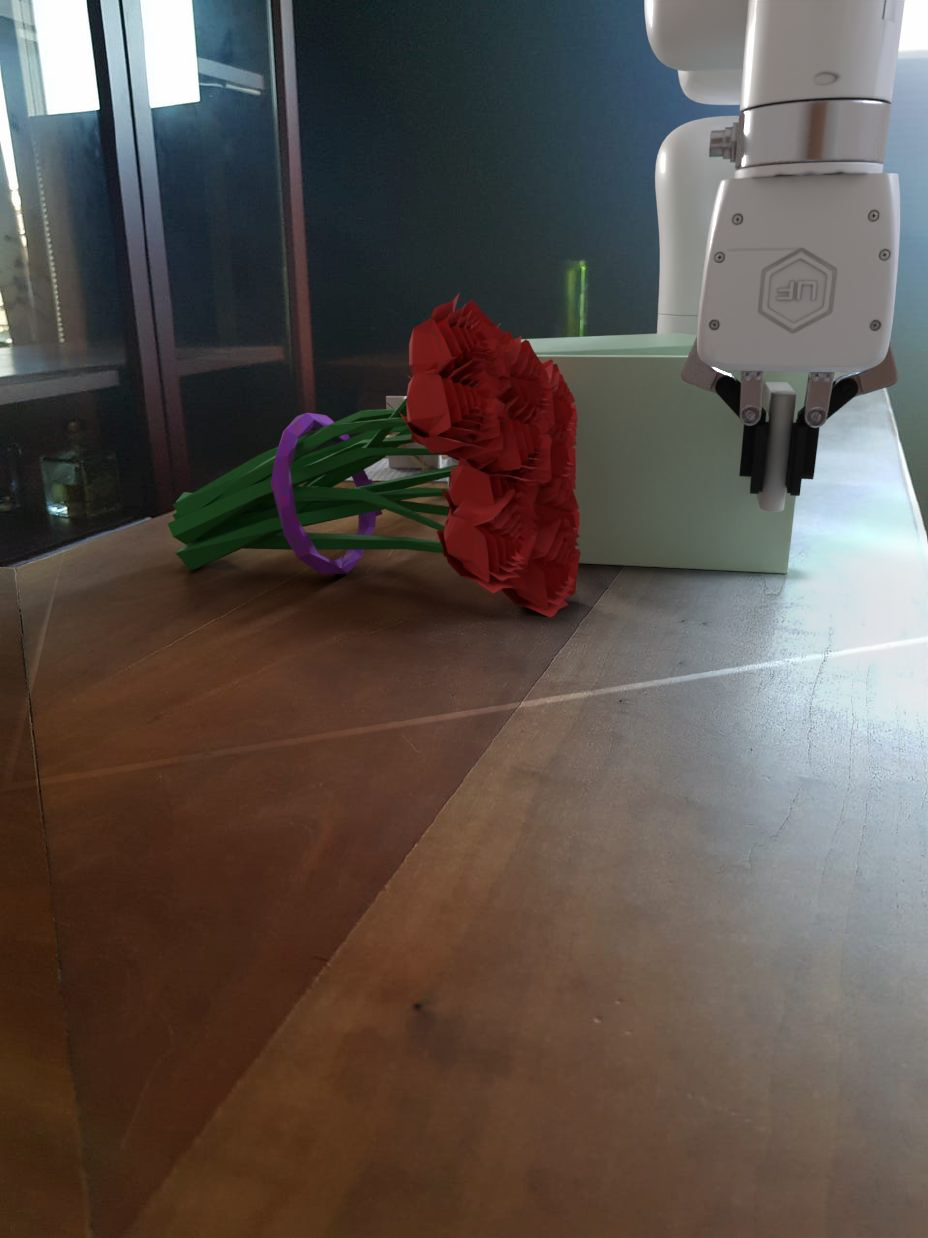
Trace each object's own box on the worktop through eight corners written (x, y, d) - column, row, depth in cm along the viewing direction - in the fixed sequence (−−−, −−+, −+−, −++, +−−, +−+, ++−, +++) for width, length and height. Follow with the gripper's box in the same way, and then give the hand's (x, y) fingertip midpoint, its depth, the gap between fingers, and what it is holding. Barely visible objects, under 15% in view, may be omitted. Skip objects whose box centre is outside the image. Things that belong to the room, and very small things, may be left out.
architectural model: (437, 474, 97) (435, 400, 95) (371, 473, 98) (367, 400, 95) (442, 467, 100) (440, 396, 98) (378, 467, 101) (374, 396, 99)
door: (797, 604, 59) (824, 367, 54) (517, 588, 63) (519, 365, 57) (786, 569, 65) (809, 355, 60) (533, 557, 69) (536, 354, 64)
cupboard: (736, 534, 74) (754, 341, 69) (529, 558, 69) (530, 352, 64) (666, 503, 84) (677, 332, 79) (479, 522, 79) (478, 340, 74)
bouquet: (266, 605, 79) (617, 563, 66) (136, 685, 64) (552, 651, 52) (195, 366, 73) (563, 272, 61) (35, 396, 59) (474, 282, 47)
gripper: (653, 149, 49) (635, 497, 56) (987, 134, 45) (925, 512, 51) (666, 162, 56) (649, 471, 62) (957, 149, 52) (906, 482, 58)
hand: (774, 487), depth 57 cm, fingers closed
